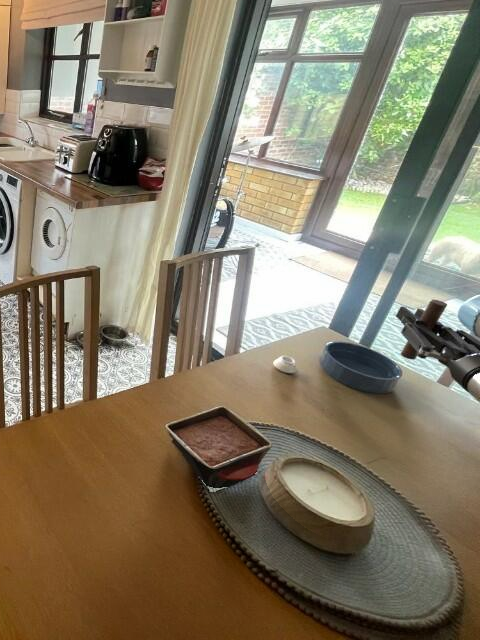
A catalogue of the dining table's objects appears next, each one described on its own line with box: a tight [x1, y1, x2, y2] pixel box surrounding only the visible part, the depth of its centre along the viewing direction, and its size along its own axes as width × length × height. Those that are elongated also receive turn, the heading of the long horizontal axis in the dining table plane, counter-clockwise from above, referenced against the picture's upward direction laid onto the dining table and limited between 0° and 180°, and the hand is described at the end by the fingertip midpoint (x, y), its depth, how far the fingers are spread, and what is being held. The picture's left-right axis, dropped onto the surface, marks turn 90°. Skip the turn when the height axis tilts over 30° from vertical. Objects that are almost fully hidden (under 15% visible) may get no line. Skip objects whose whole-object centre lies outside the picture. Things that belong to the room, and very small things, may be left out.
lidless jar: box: [272, 355, 297, 374], centre depth 110 cm, size 5×3×5 cm
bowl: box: [318, 341, 403, 394], centre depth 107 cm, size 15×15×5 cm
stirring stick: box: [400, 299, 448, 360], centre depth 88 cm, size 2×2×14 cm
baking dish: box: [165, 405, 273, 488], centre depth 83 cm, size 14×18×10 cm
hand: (408, 312), depth 92 cm, fingers closed on stirring stick, 2 cm apart
